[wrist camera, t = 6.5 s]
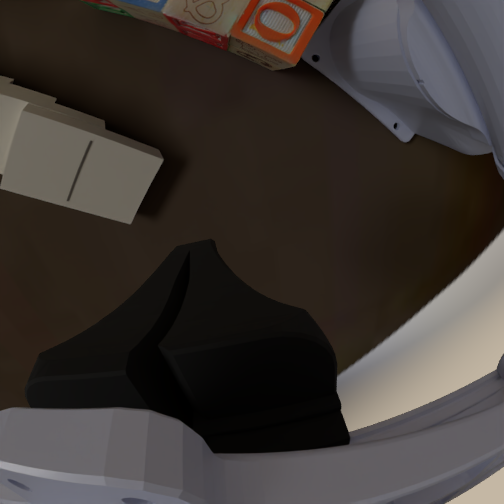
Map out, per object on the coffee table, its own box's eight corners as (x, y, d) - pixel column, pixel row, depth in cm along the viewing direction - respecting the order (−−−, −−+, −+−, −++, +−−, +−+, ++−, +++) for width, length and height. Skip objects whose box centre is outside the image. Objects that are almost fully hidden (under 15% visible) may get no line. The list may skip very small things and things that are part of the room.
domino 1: (105, 128, 17) (-25, 87, 11) (76, 195, 18) (-43, 162, 12) (104, 120, 18) (-16, 81, 12) (77, 183, 19) (-36, 151, 13)
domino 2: (164, 159, 18) (22, 110, 12) (130, 224, 20) (-1, 188, 14) (158, 149, 19) (28, 102, 13) (127, 210, 21) (5, 175, 15)
